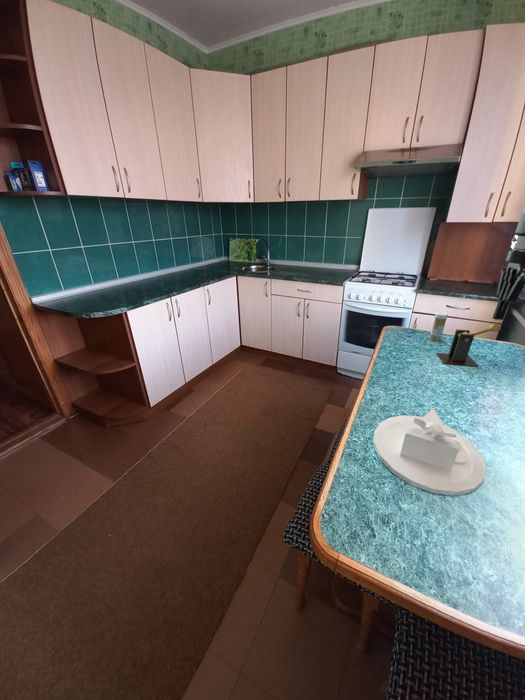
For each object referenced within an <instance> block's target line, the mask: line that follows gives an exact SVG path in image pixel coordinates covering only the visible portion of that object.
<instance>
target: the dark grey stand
mask: <svg viewBox="0 0 525 700" xmlns="http://www.w3.org/2000/svg"><path fill="white" fill-rule="evenodd" d="M463 332H467V333H468V334H460V333H463ZM469 333H471V330H470V329H455V332H454V336H453V338H452V342H451V345H450V348H449V352H448V353H446V352H445V353H444V352H436V353H435V354H436V356H437V358H438V359H439V361H440V362H441V364H442V365H448V366H460V367H469V368H470V367H471V368H479V365H478V364H477V363H476V361H475V360H474V359H473V358H472V357H471V356H470V355H469V353H470V350H471V347H472V344H473V341H474V338H475V336H474V335H473V334H469ZM458 334H460V336H459V337H458Z"/></svg>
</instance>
